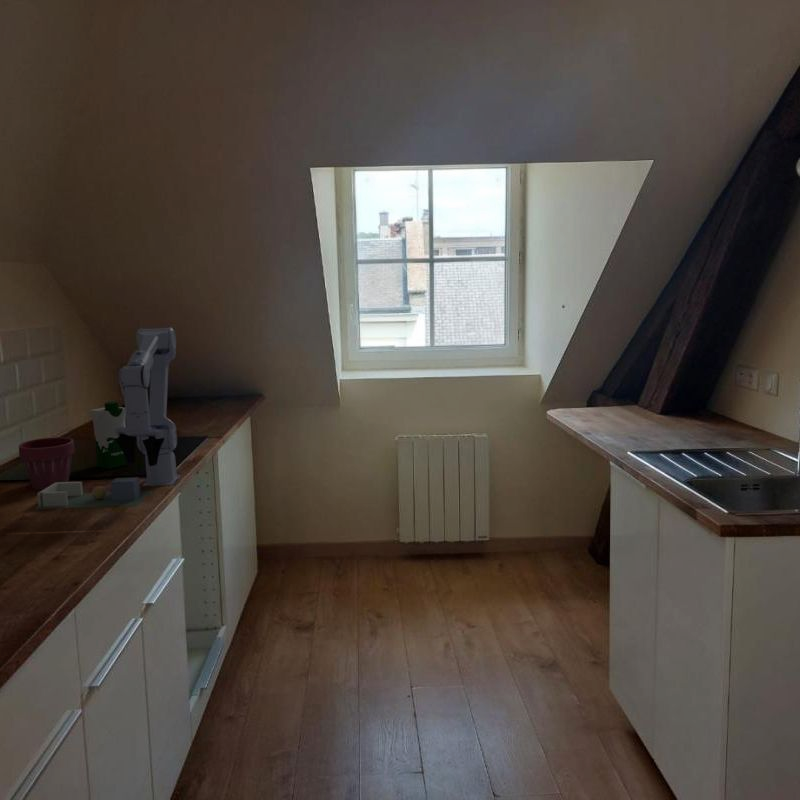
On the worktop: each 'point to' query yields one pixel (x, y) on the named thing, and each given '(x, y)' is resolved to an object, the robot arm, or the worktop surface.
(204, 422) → the worktop surface
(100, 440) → the milk carton
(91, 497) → the pitch mat
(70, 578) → the worktop surface
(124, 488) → the block
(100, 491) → the ball
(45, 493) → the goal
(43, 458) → the plant pot
